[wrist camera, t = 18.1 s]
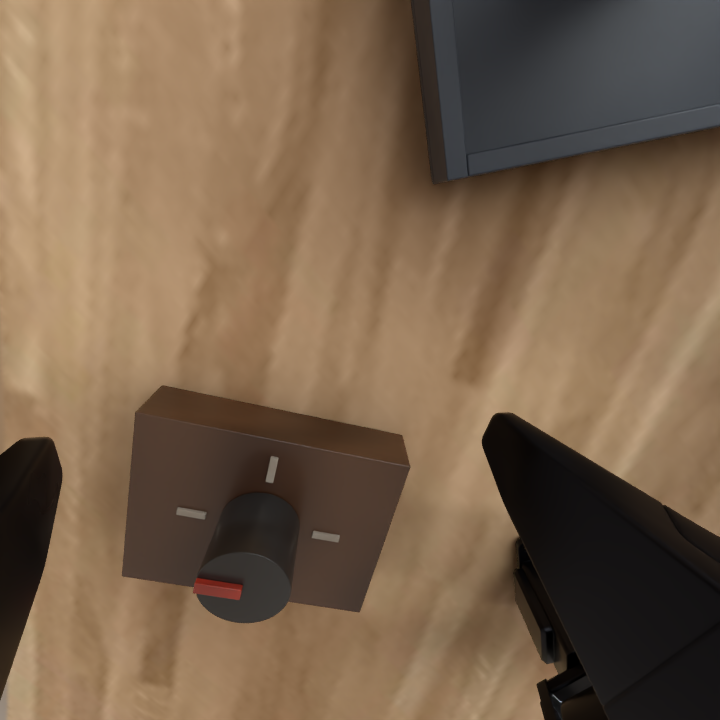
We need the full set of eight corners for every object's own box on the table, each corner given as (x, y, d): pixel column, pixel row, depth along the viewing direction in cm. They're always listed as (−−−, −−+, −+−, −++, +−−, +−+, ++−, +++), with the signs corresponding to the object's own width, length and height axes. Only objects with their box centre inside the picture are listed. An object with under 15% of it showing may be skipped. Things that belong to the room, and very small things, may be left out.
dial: (307, 500, 21) (298, 567, 17) (291, 560, 22) (280, 636, 18) (226, 485, 20) (198, 551, 16) (214, 548, 22) (186, 623, 18)
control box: (402, 435, 23) (411, 468, 20) (357, 569, 26) (360, 615, 23) (162, 384, 22) (133, 413, 19) (146, 534, 25) (119, 579, 22)
